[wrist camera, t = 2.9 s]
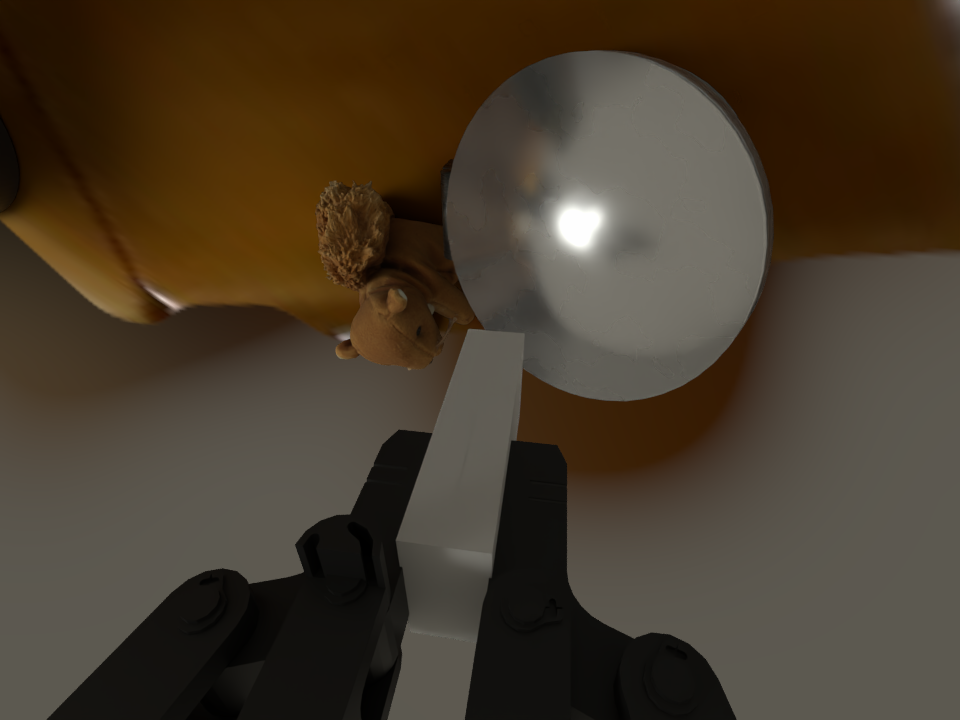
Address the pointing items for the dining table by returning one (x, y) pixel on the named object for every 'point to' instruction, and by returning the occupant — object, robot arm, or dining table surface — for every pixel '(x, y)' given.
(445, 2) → the dining table surface
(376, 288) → the stuffed squirrel
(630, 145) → the lid
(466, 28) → the dining table surface
